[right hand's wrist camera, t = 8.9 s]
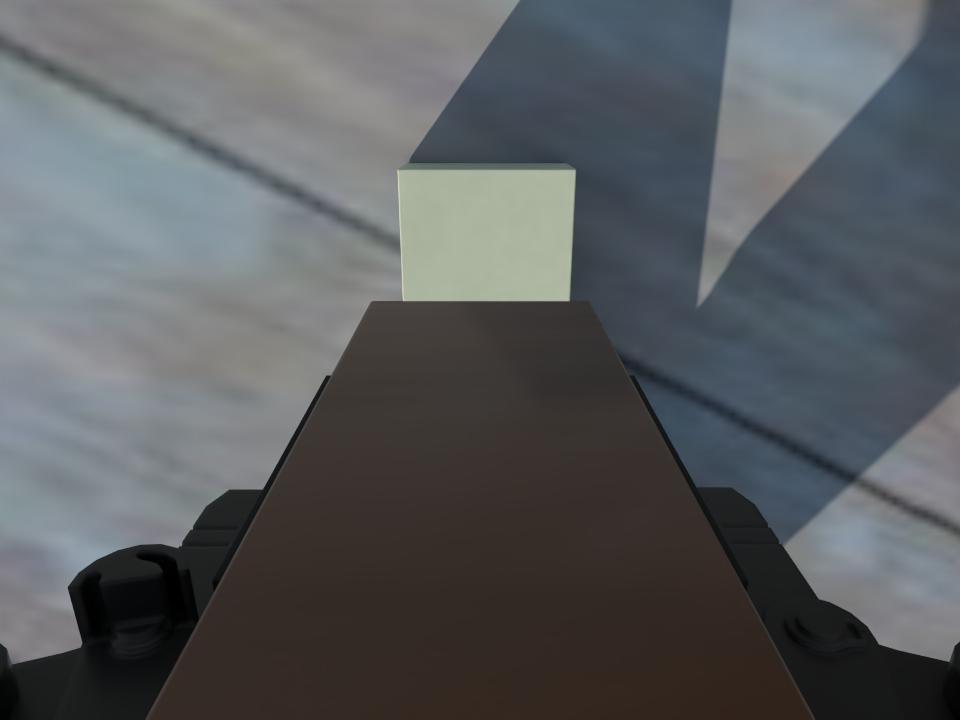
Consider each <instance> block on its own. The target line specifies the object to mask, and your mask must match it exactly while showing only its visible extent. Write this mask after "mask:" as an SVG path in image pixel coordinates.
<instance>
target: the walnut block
mask: <svg viewBox="0 0 960 720" xmlns="http://www.w3.org/2000/svg"><path fill="white" fill-rule="evenodd" d="M145 720H815V718H814V716H813V714H812V712H811V711H810V709H809V707H808V705H807V703H806V701H805V700H804V698H803V696H802V694H801V692H800V690H799V688H798V687H797V685H796V683H795V681H794V679H793V677H792V675H791V674H790V672H789V670H788V668H787V666H786V664H785V663H784V661H783V659H782V657H781V655H780V653H779V651H778V650H777V648H776V646H775V644H774V642H773V640H772V639H771V637H770V635H769V633H768V631H767V629H766V627H765V626H764V624H763V622H762V620H761V618H760V616H759V615H758V613H757V611H756V609H755V607H754V605H753V603H752V602H751V600H750V598H749V596H748V594H747V592H746V591H745V589H744V587H743V585H742V583H741V581H740V579H739V578H738V576H737V574H736V572H735V570H734V568H733V567H732V565H731V563H730V561H729V559H728V557H727V555H726V554H725V552H724V550H723V548H722V546H721V544H720V543H719V541H718V539H717V537H716V535H715V533H714V531H713V530H712V528H711V526H710V524H709V522H708V520H707V519H706V517H705V515H704V513H703V511H702V509H701V507H700V506H699V504H698V502H697V500H696V498H695V496H694V494H693V493H692V491H691V489H690V487H689V485H688V483H687V482H686V480H685V478H684V476H683V474H682V472H681V470H680V469H679V467H678V465H677V463H676V461H675V459H674V458H673V456H672V454H671V452H670V450H669V448H668V446H667V445H666V443H665V441H664V439H663V437H662V435H661V434H660V432H659V430H658V428H657V426H656V424H655V422H654V421H653V419H652V417H651V415H650V413H649V411H648V410H647V408H646V406H645V404H644V402H643V400H642V398H641V397H640V395H639V393H638V391H637V389H636V387H635V386H634V384H633V382H632V380H631V378H630V376H629V374H628V373H627V371H626V369H625V367H624V365H623V363H622V362H621V360H620V358H619V356H618V354H617V352H616V350H615V349H614V347H613V345H612V343H611V341H610V339H609V338H608V336H607V334H606V332H605V330H604V328H603V326H602V325H601V323H600V321H599V319H598V317H597V315H596V314H595V312H594V310H593V308H592V306H591V304H590V302H588V301H373V302H371V303H370V305H369V307H368V309H367V310H366V312H365V314H364V316H363V318H362V320H361V322H360V323H359V325H358V327H357V329H356V331H355V333H354V334H353V336H352V338H351V340H350V342H349V344H348V346H347V347H346V349H345V351H344V353H343V355H342V357H341V359H340V360H339V362H338V364H337V366H336V368H335V370H334V371H333V373H332V375H331V377H330V379H329V381H328V383H327V384H326V386H325V388H324V390H323V392H322V394H321V396H320V397H319V399H318V401H317V403H316V405H315V407H314V408H313V410H312V412H311V414H310V416H309V418H308V420H307V421H306V423H305V425H304V427H303V429H302V431H301V433H300V434H299V436H298V438H297V440H296V442H295V444H294V445H293V447H292V449H291V451H290V453H289V455H288V457H287V458H286V460H285V462H284V464H283V466H282V468H281V470H280V471H279V473H278V475H277V477H276V479H275V481H274V482H273V484H272V486H271V488H270V490H269V492H268V494H267V495H266V497H265V499H264V501H263V503H262V505H261V507H260V508H259V510H258V512H257V514H256V516H255V518H254V519H253V521H252V523H251V525H250V527H249V529H248V531H247V532H246V534H245V536H244V538H243V540H242V542H241V544H240V545H239V547H238V549H237V551H236V553H235V555H234V556H233V558H232V560H231V562H230V564H229V566H228V568H227V569H226V571H225V573H224V575H223V577H222V579H221V581H220V582H219V584H218V586H217V588H216V590H215V592H214V594H213V595H212V597H211V599H210V601H209V603H208V605H207V606H206V608H205V610H204V612H203V614H202V616H201V618H200V619H199V621H198V623H197V625H196V627H195V629H194V631H193V632H192V634H191V636H190V638H189V640H188V642H187V643H186V645H185V647H184V649H183V651H182V653H181V655H180V656H179V658H178V660H177V662H176V664H175V666H174V668H173V669H172V671H171V673H170V675H169V677H168V679H167V680H166V682H165V684H164V686H163V688H162V690H161V692H160V693H159V695H158V697H157V699H156V701H155V703H154V705H153V706H152V708H151V710H150V712H149V714H148V716H147V717H146V719H145Z"/></svg>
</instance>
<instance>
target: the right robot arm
mask: <svg viewBox="0 0 960 720" xmlns="http://www.w3.org/2000/svg"><path fill="white" fill-rule="evenodd" d="M330 377H331V376H326V377H325V379H324V381H323V383H322V384H321V386H320V388H319V390H318V392H317V393H316V395H315V397H314V399H313V401H312V402H311V404H310V406H309V408H308V410H307V411H306V413H305V415H304V417H303V419H302V420H301V422H300V424H299V426H298V428H297V429H296V431H295V433H294V435H293V437H292V438H291V440H290V442H289V444H288V446H287V447H286V449H285V451H284V453H283V455H282V456H281V458H280V460H279V462H278V464H277V465H276V467H275V469H274V471H273V473H272V474H271V476H270V478H269V480H268V482H267V483H266V485H265V487H264V489H263V490H228V491H227V492H226V493H224V494H223V495H221V496H220V497H219V498H217V499H216V500H215V501H213V502H212V503H210V504H209V505H208V506H206V508H205V509H204V511H203V512H202V514H201V515H200V517H199V518H198V520H197V521H196V523H195V524H194V526H193V530H190V531H189V533H188V534H187V536H186V537H185V539H184V540H183V542H182V546H179V548H175V547H171V546H167V545H163V544H151V545H138V546H134V547H130V548H126V549H122V550H118V551H115V552H113V553H111V554H109V555H107V556H104V557H102V558H100V559H98V560H96V561H94V562H93V563H92V564H90V565H89V566H87V567H86V568H85V569H83V570H82V571H81V572H79V573H78V574H77V576H76V577H75V578H74V580H73V581H72V582H71V584H70V585H69V586H68V591H69V594H70V598H71V602H72V605H73V609H74V613H75V617H76V620H77V624H78V628H79V631H80V635H81V639H82V642H83V643H82V646H81V648H78V649H75V650H71V651H68V652H65V653H61V654H56V655H52V656H48V657H43V658H39V659H35V660H30V661H26V662H22V663H17V664H13V665H12V664H11V661H10V658H9V655H8V651H7V649H6V648H5V647H4V646H3V645H2V644H0V720H145V719H146V717H147V716H148V714H149V712H150V710H151V708H152V706H153V705H154V703H155V701H156V699H157V697H158V695H159V693H160V692H161V690H162V688H163V686H164V684H165V682H166V680H167V679H168V677H169V675H170V673H171V671H172V669H173V668H174V666H175V664H176V662H177V660H178V658H179V656H180V655H181V653H182V651H183V649H184V647H185V645H186V643H187V642H188V640H189V638H190V636H191V634H192V632H193V631H194V629H195V627H196V625H197V623H198V621H199V619H200V618H201V616H202V614H203V612H204V610H205V608H206V606H207V605H208V603H209V601H210V599H211V597H212V595H213V594H214V592H215V590H216V588H217V586H218V584H219V582H220V581H221V579H222V577H223V575H224V573H225V571H226V569H227V568H228V566H229V564H230V562H231V560H232V558H233V556H234V555H235V553H236V551H237V549H238V547H239V545H240V544H241V542H242V540H243V538H244V536H245V534H246V532H247V531H248V529H249V527H250V525H251V523H252V521H253V519H254V518H255V516H256V514H257V512H258V510H259V508H260V507H261V505H262V503H263V501H264V499H265V497H266V495H267V494H268V492H269V490H270V488H271V486H272V484H273V482H274V481H275V479H276V477H277V475H278V473H279V471H280V470H281V468H282V466H283V464H284V462H285V460H286V458H287V457H288V455H289V453H290V451H291V449H292V447H293V445H294V444H295V442H296V440H297V438H298V436H299V434H300V433H301V431H302V429H303V427H304V425H305V423H306V421H307V420H308V418H309V416H310V414H311V412H312V410H313V408H314V407H315V405H316V403H317V401H318V399H319V397H320V396H321V394H322V392H323V390H324V388H325V386H326V384H327V383H328V381H329V379H330ZM630 378H631V380H632V382H633V384H634V386H635V387H636V389H637V391H638V393H639V395H640V397H641V398H642V400H643V402H644V404H645V406H646V408H647V410H648V411H649V413H650V415H651V417H652V419H653V421H654V422H655V424H656V426H657V428H658V430H659V432H660V434H661V435H662V437H663V439H664V441H665V443H666V445H667V446H668V448H669V450H670V452H671V454H672V456H673V458H674V459H675V461H676V463H677V465H678V467H679V469H680V470H681V472H682V474H683V476H684V478H685V480H686V482H687V483H688V485H689V487H690V489H691V491H692V493H693V494H694V496H695V498H696V500H697V502H698V504H699V506H700V507H701V509H702V511H703V513H704V515H705V517H706V519H707V520H708V522H709V524H710V526H711V528H712V530H713V531H714V533H715V535H716V537H717V539H718V541H719V543H720V544H721V546H722V548H723V550H724V552H725V554H726V555H727V557H728V559H729V561H730V563H731V565H732V567H733V568H734V570H735V572H736V574H737V576H738V578H739V579H740V581H741V583H742V585H743V587H744V589H745V591H746V592H747V594H748V596H749V598H750V600H751V602H752V603H753V605H754V607H755V609H756V611H757V613H758V615H759V616H760V618H761V620H762V622H763V624H764V626H765V627H766V629H767V631H768V633H769V635H770V637H771V639H772V640H773V642H774V644H775V646H776V648H777V650H778V651H779V653H780V655H781V657H782V659H783V661H784V663H785V664H786V666H787V668H788V670H789V672H790V674H791V675H792V677H793V679H794V681H795V683H796V685H797V687H798V688H799V690H800V692H801V694H802V696H803V698H804V700H805V701H806V703H807V705H808V707H809V709H810V711H811V712H812V714H813V716H814V718H815V720H960V642H959V643H958V644H957V645H955V647H954V650H953V653H952V656H951V659H950V662H947V661H942V660H938V659H934V658H929V657H925V656H920V655H916V654H912V653H907V652H903V651H899V650H895V649H892V648H889V647H885V646H882V645H879V644H878V642H877V641H876V639H875V637H874V636H873V634H872V633H871V631H870V630H869V628H868V627H867V626H866V625H865V624H864V623H862V622H861V621H860V620H859V619H858V618H856V617H855V616H854V615H853V614H851V613H850V612H848V611H846V610H844V609H842V608H840V607H838V606H836V605H834V604H832V603H830V602H827V601H823V600H819V599H818V597H817V596H816V594H815V593H814V592H813V590H812V589H811V587H810V586H809V584H808V583H807V581H806V580H805V578H804V577H803V575H802V574H801V572H800V571H799V569H798V568H797V566H796V565H795V563H794V562H793V560H792V559H791V558H790V556H789V555H788V553H787V552H786V550H785V549H784V547H783V546H782V544H779V540H778V538H777V537H776V535H775V534H774V532H773V531H772V529H771V528H768V524H767V522H766V521H765V519H764V518H763V516H762V515H761V513H760V512H759V510H758V509H757V507H756V506H755V504H753V503H752V502H751V501H749V500H748V499H746V498H745V497H744V496H742V495H741V494H739V493H738V492H737V491H735V490H734V489H732V488H696V486H695V484H694V483H693V481H692V479H691V477H690V475H689V474H688V472H687V470H686V468H685V466H684V465H683V463H682V461H681V459H680V457H679V456H678V454H677V452H676V450H675V448H674V447H673V445H672V443H671V441H670V439H669V438H668V436H667V434H666V432H665V430H664V429H663V427H662V425H661V423H660V421H659V420H658V418H657V416H656V414H655V412H654V411H653V409H652V407H651V405H650V403H649V402H648V400H647V398H646V396H645V394H644V393H643V391H642V389H641V387H640V385H639V384H638V382H637V380H636V378H635V376H630Z"/></svg>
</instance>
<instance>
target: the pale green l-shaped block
mask: <svg viewBox="0 0 960 720" xmlns="http://www.w3.org/2000/svg"><path fill="white" fill-rule="evenodd" d="M575 186H576V169H575V168H573V167H572V166H570V165H569V164H567V163H406V164H405V165H403V166H402V167H401V168H399V169H398V191H399V215H400V239H401V263H402V287H403V301H570V290H571V269H572V249H573V228H574V207H575Z"/></svg>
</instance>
